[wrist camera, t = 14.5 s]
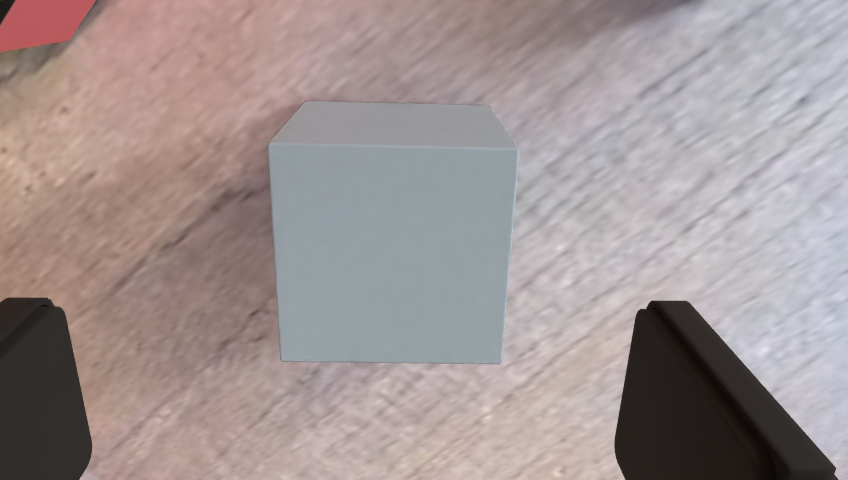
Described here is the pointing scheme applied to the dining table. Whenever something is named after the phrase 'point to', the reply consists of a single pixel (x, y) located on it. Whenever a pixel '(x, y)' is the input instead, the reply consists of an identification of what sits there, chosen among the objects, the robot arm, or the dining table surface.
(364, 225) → the gray cube
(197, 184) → the dining table surface
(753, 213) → the dining table surface
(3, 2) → the puzzle cube
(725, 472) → the robot arm
